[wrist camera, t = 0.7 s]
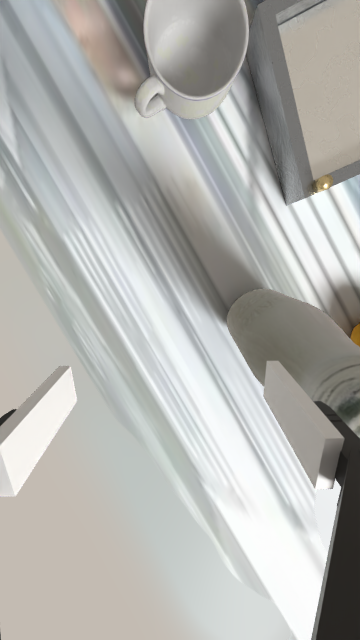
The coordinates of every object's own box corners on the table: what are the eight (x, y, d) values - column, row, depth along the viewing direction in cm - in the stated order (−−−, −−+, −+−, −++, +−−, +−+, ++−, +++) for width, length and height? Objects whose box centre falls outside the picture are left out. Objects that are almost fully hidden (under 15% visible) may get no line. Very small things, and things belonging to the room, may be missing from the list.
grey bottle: (246, 351, 43) (359, 526, 16) (210, 310, 40) (269, 434, 14) (292, 315, 41) (509, 448, 14) (257, 270, 38) (433, 325, 12)
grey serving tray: (244, 46, 30) (262, -11, 23) (405, -40, 28) (478, -132, 21) (286, 205, 36) (311, 196, 29) (424, 144, 33) (487, 118, 26)
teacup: (209, 8, 29) (219, -77, 22) (247, 101, 32) (267, 56, 24) (115, 79, 31) (95, 24, 24) (158, 161, 34) (152, 136, 26)
